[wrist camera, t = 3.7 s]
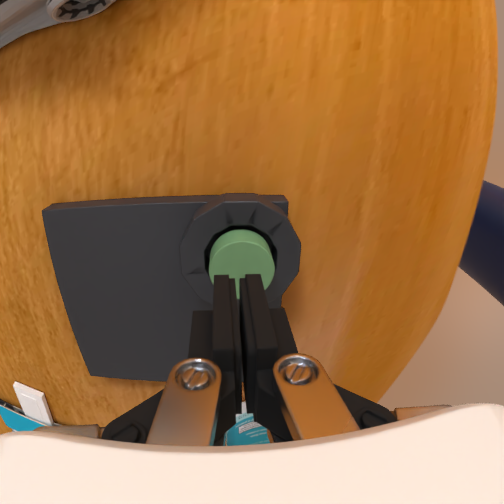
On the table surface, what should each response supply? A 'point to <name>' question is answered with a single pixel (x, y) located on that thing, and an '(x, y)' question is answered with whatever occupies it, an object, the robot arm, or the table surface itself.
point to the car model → (42, 15)
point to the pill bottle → (246, 430)
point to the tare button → (241, 257)
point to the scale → (153, 271)
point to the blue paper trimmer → (27, 410)
